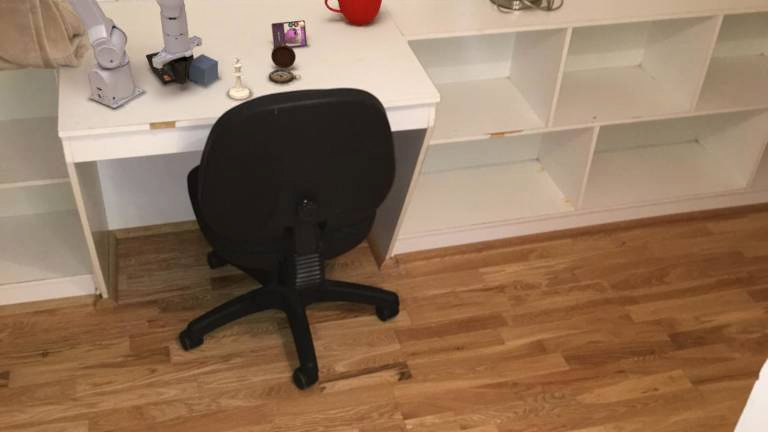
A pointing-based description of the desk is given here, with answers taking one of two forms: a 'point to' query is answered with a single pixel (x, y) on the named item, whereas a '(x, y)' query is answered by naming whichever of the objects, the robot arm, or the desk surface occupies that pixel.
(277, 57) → the compass
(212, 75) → the slate block
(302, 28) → the purple printed box
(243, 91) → the chess piece
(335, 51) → the desk surface
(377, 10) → the ceramic cup
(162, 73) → the calculator
